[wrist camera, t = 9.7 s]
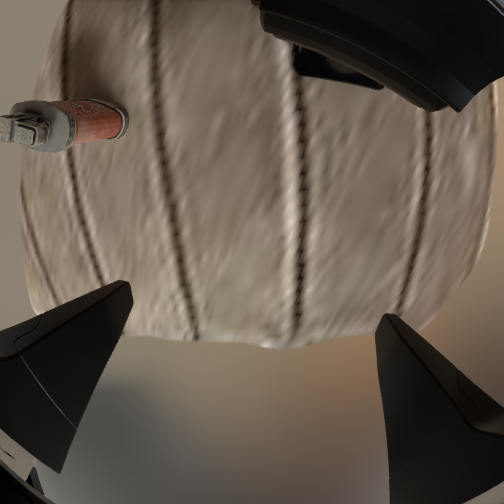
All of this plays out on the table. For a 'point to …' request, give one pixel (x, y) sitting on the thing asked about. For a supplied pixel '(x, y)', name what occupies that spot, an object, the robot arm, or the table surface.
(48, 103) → the lighter
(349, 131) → the table surface
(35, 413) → the robot arm
